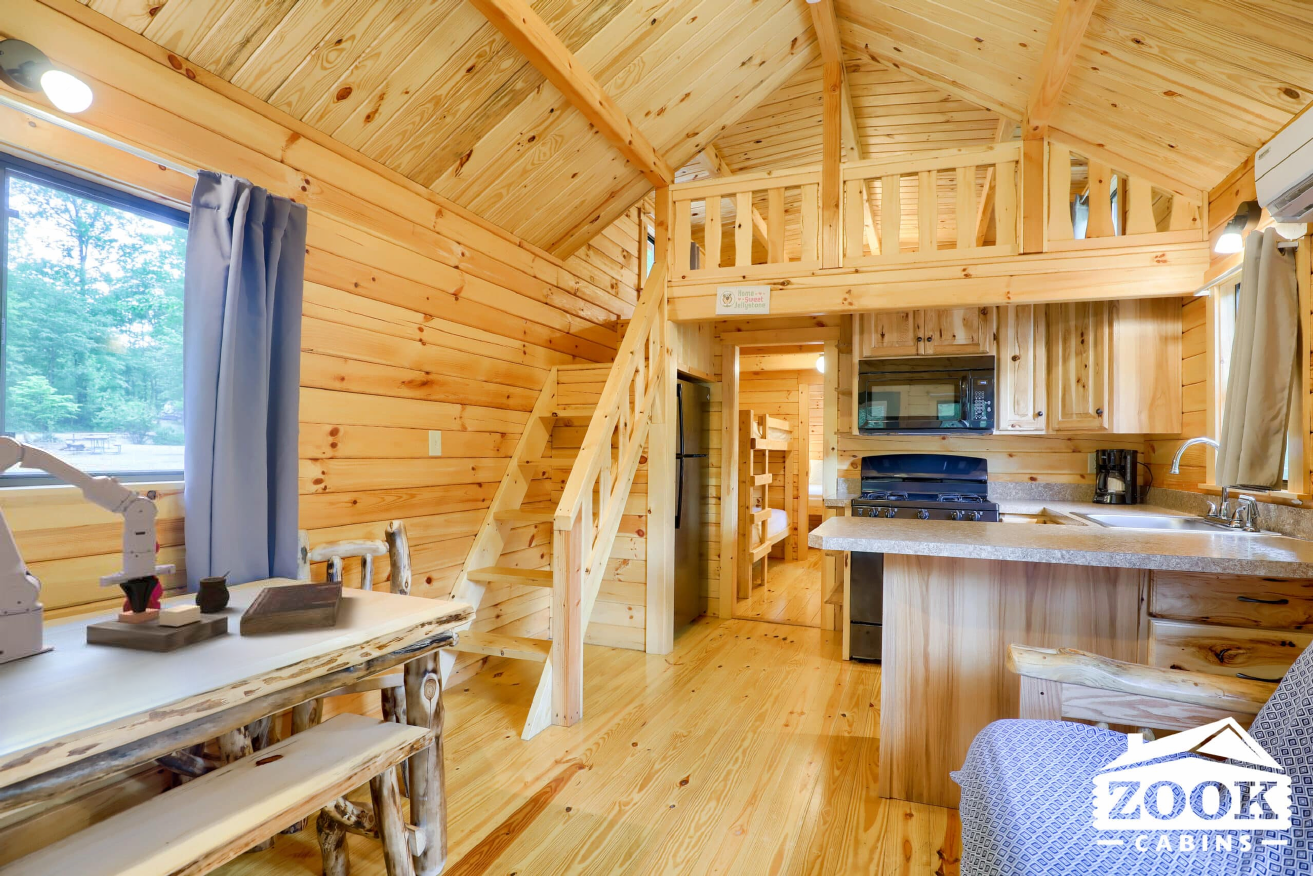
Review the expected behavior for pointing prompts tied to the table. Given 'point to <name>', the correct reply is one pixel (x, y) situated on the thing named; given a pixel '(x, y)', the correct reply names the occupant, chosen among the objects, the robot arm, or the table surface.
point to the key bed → (156, 633)
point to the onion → (128, 608)
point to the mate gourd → (212, 594)
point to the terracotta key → (138, 616)
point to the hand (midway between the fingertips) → (139, 612)
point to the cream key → (179, 615)
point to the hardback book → (293, 608)
